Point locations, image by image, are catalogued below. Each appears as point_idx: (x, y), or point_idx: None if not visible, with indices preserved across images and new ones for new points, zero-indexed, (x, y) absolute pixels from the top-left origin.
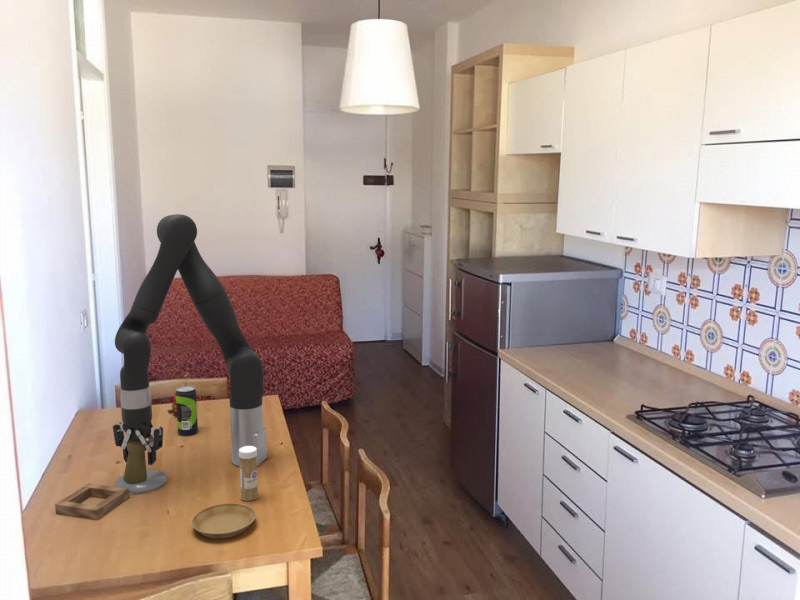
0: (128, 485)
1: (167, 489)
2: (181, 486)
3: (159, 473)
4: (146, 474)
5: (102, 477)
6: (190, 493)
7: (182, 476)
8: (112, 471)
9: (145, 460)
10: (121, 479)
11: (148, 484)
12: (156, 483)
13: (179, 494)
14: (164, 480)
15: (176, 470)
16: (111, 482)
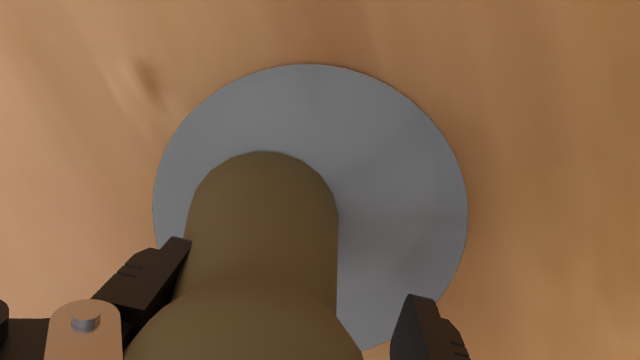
0: None
1: (492, 291)
2: (570, 256)
3: (398, 130)
4: (336, 220)
5: (24, 139)
6: (637, 336)
7: (552, 115)
8: (31, 42)
9: (333, 271)
10: (179, 223)
11: (379, 289)
12: (424, 275)
13: (575, 345)
14: (464, 236)
15: (488, 11)
16: (122, 207)
